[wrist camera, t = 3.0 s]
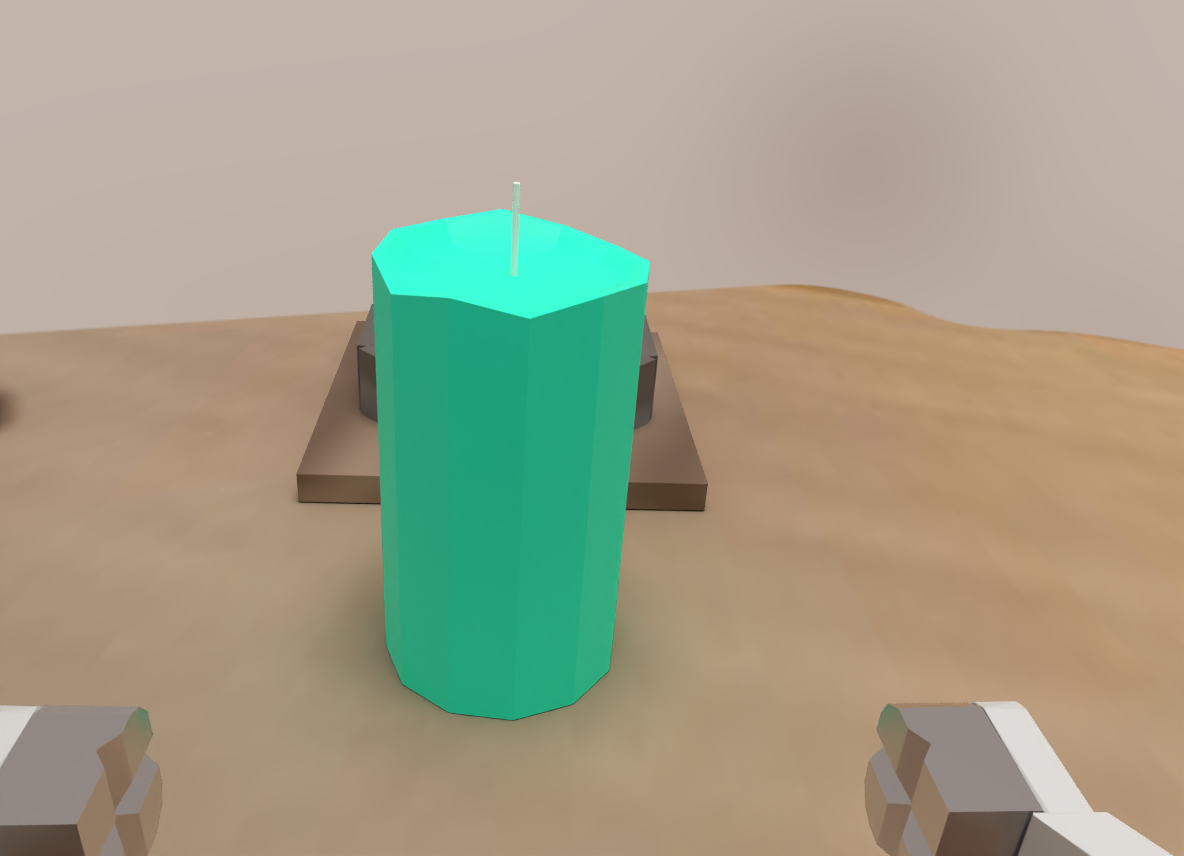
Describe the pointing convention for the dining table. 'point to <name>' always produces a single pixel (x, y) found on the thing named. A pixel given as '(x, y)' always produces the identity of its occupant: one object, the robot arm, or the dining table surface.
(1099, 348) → the dining table surface
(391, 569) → the candle
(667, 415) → the collar holder
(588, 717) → the dining table surface
